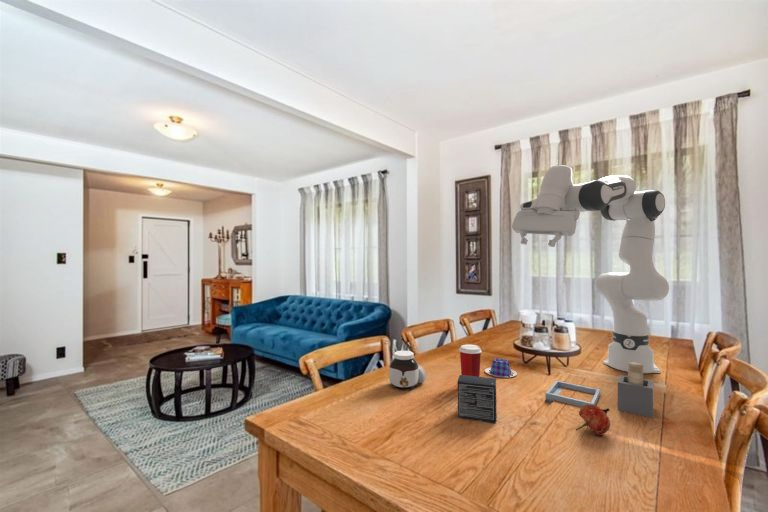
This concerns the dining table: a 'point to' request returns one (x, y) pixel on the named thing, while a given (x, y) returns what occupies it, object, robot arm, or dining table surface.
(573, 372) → the dining table surface
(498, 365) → the pudding
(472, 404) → the small box
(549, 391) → the slate tray
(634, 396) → the grey open-top box
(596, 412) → the pomegranate
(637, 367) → the maple dowel
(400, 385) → the spread jar
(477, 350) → the paper cup
